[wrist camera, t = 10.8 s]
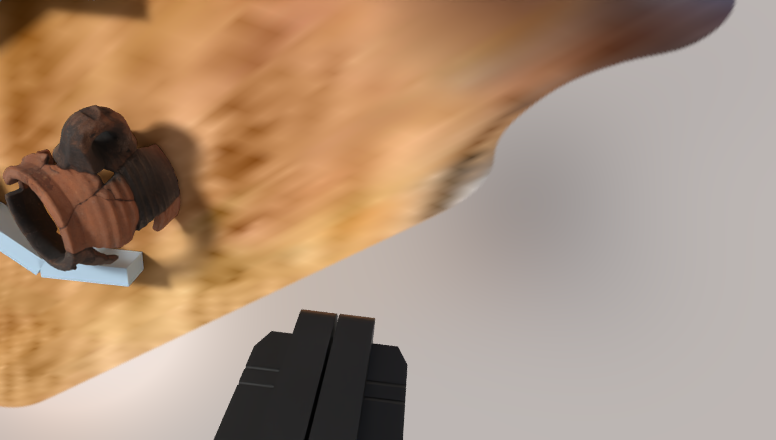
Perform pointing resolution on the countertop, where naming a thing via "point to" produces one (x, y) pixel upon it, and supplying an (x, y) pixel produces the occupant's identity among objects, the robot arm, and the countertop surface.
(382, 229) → the countertop surface
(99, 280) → the collar
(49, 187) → the pottery mug
